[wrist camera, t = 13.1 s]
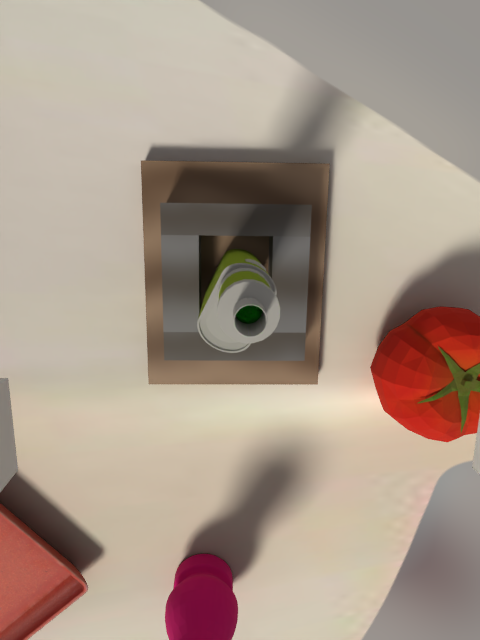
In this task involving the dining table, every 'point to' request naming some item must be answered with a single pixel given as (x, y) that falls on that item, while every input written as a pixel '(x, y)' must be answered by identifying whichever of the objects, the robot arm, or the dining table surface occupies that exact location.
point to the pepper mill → (202, 601)
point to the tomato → (432, 373)
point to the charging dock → (207, 251)
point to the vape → (238, 304)
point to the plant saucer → (32, 580)
